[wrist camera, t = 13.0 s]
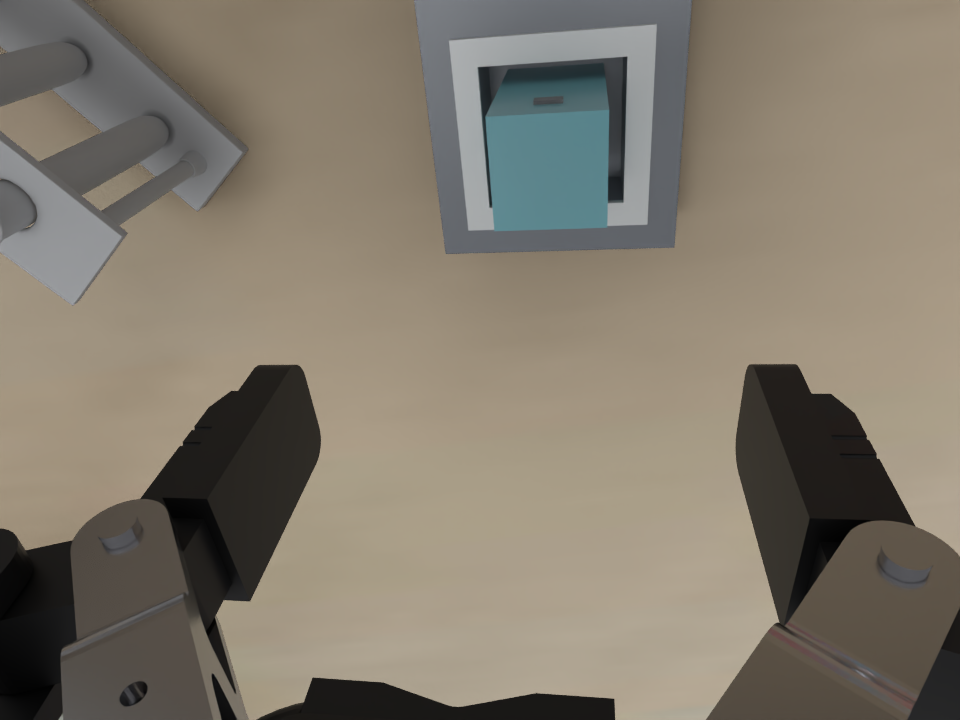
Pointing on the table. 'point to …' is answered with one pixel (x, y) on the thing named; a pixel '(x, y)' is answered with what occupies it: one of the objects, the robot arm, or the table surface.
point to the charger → (549, 148)
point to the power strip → (557, 42)
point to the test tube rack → (94, 141)
